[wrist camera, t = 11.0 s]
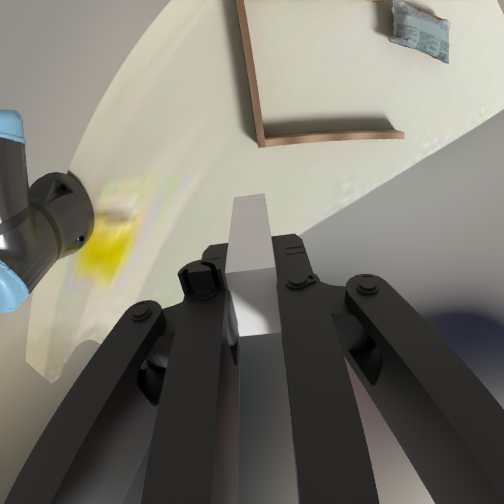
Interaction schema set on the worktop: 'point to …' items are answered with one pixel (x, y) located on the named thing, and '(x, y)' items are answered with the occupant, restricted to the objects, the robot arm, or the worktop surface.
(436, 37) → the packaged food
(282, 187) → the worktop surface
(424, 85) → the worktop surface
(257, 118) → the wooden frame
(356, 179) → the worktop surface
